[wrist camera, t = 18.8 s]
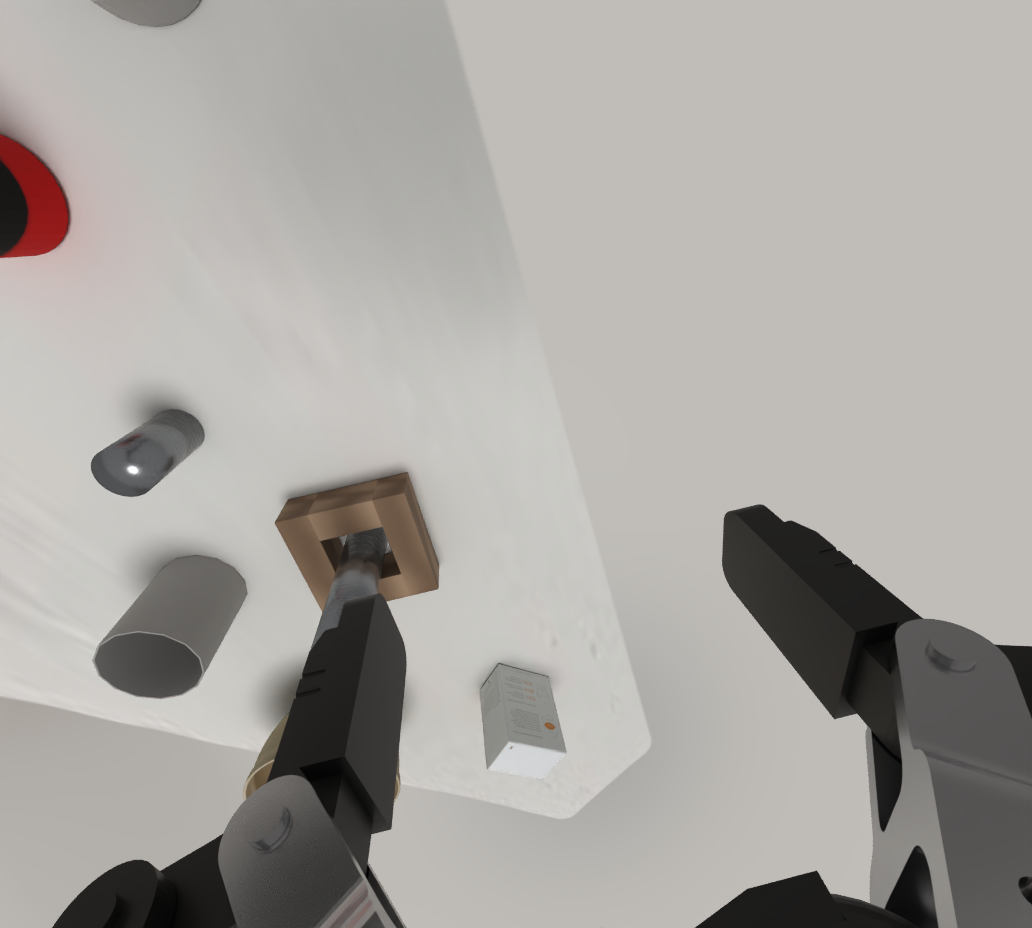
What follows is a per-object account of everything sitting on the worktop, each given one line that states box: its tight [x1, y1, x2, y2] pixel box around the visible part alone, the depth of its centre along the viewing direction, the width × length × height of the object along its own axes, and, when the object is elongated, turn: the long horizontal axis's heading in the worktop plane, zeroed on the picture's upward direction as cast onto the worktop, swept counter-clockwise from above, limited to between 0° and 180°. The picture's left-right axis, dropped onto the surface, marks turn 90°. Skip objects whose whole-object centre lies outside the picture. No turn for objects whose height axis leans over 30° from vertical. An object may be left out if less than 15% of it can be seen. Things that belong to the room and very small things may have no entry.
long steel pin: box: [311, 527, 388, 649], centre depth 41 cm, size 4×4×16 cm
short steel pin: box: [91, 410, 204, 497], centre depth 37 cm, size 4×4×8 cm
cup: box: [92, 555, 247, 699], centre depth 44 cm, size 8×8×10 cm
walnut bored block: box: [275, 473, 439, 612], centre depth 46 cm, size 12×12×4 cm
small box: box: [480, 664, 566, 779], centre depth 57 cm, size 8×6×10 cm
